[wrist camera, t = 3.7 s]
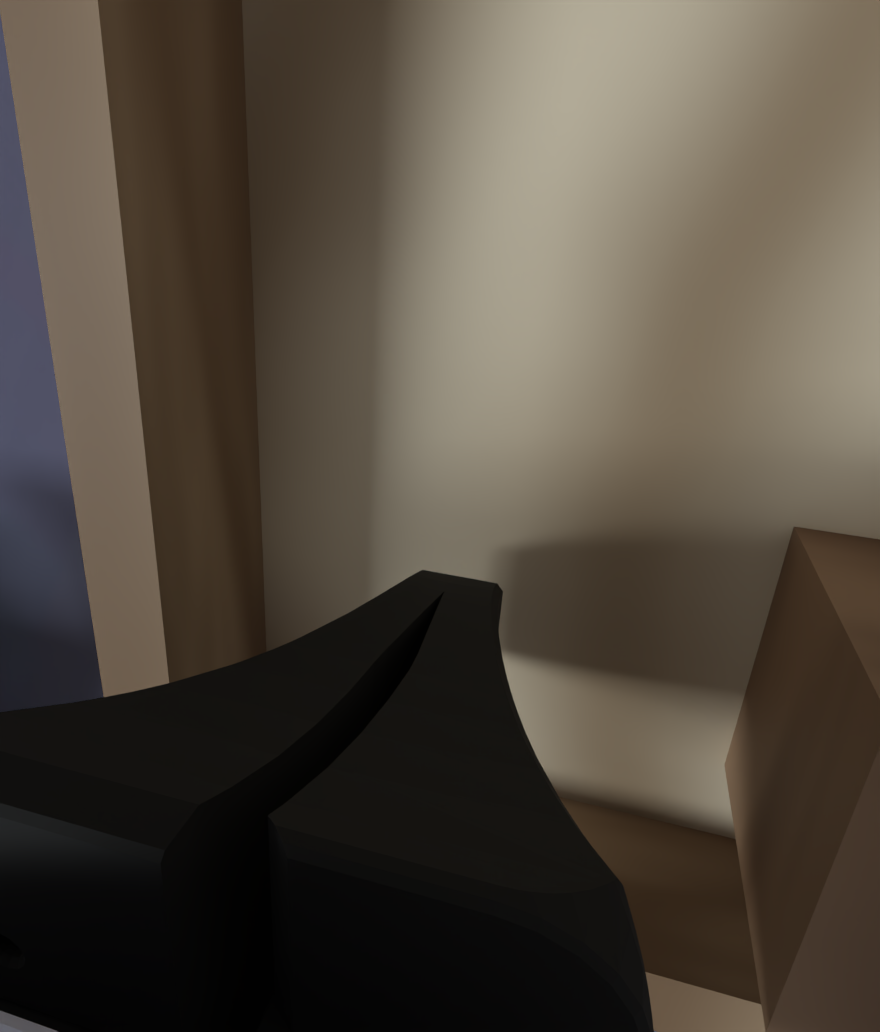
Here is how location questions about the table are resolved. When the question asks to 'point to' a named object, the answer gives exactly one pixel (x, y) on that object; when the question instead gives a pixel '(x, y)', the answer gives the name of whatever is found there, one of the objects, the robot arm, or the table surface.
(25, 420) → the table surface
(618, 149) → the cubby base
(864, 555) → the walnut block
